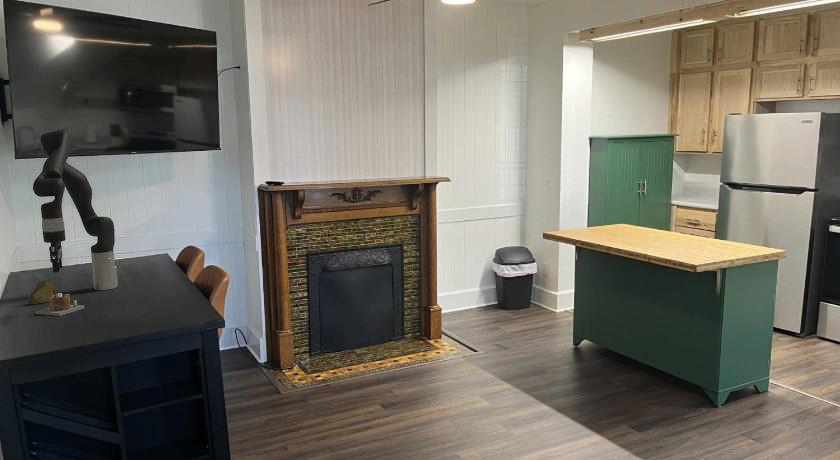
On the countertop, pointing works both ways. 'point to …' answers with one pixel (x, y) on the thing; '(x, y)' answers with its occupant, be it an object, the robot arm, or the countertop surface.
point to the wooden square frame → (59, 302)
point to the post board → (61, 312)
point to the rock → (42, 292)
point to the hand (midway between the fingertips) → (57, 270)
